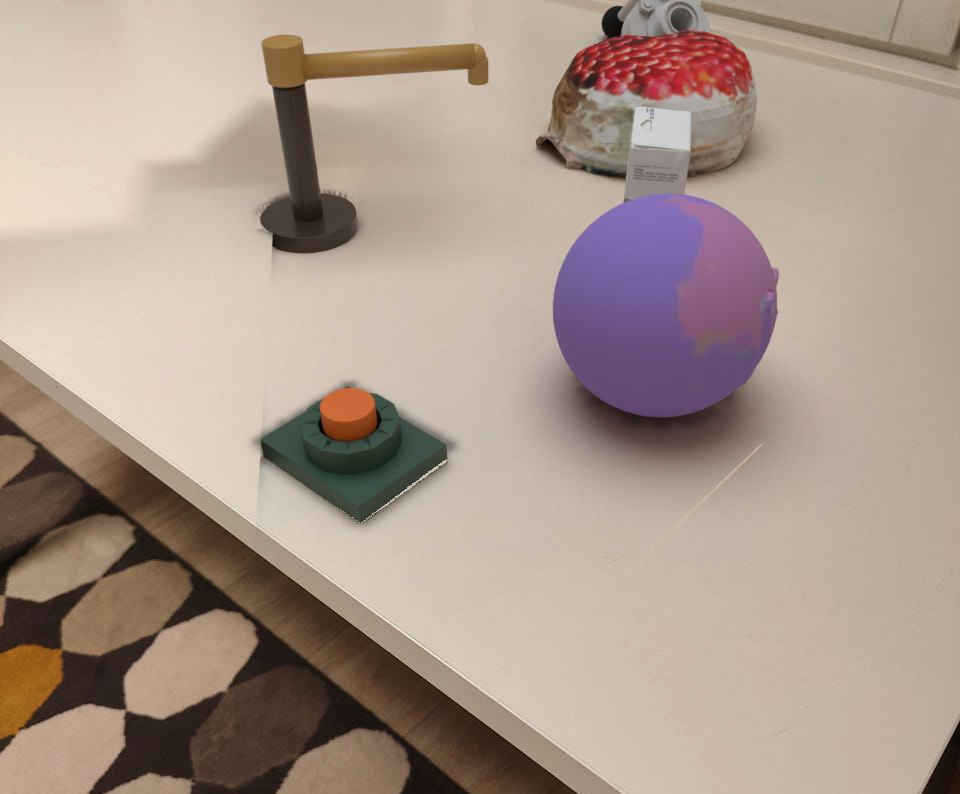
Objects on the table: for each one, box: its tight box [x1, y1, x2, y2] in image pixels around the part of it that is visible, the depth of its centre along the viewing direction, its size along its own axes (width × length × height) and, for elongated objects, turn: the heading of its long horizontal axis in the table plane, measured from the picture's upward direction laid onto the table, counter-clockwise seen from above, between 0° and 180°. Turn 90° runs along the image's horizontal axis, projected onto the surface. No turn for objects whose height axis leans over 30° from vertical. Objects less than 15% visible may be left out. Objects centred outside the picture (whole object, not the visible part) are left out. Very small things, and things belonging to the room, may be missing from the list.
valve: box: [601, 0, 711, 39], centre depth 119 cm, size 10×20×15 cm
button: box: [320, 387, 377, 442], centre depth 62 cm, size 4×4×2 cm
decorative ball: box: [552, 194, 780, 418], centre depth 65 cm, size 15×15×15 cm
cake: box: [535, 30, 758, 179], centre depth 101 cm, size 23×24×10 cm
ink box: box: [623, 106, 691, 203], centre depth 81 cm, size 8×5×12 cm, turn 170°
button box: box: [259, 385, 448, 524], centre depth 64 cm, size 10×8×4 cm
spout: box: [261, 34, 489, 88], centre depth 80 cm, size 19×3×4 cm, turn 98°
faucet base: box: [259, 82, 359, 254], centre depth 85 cm, size 9×9×14 cm
